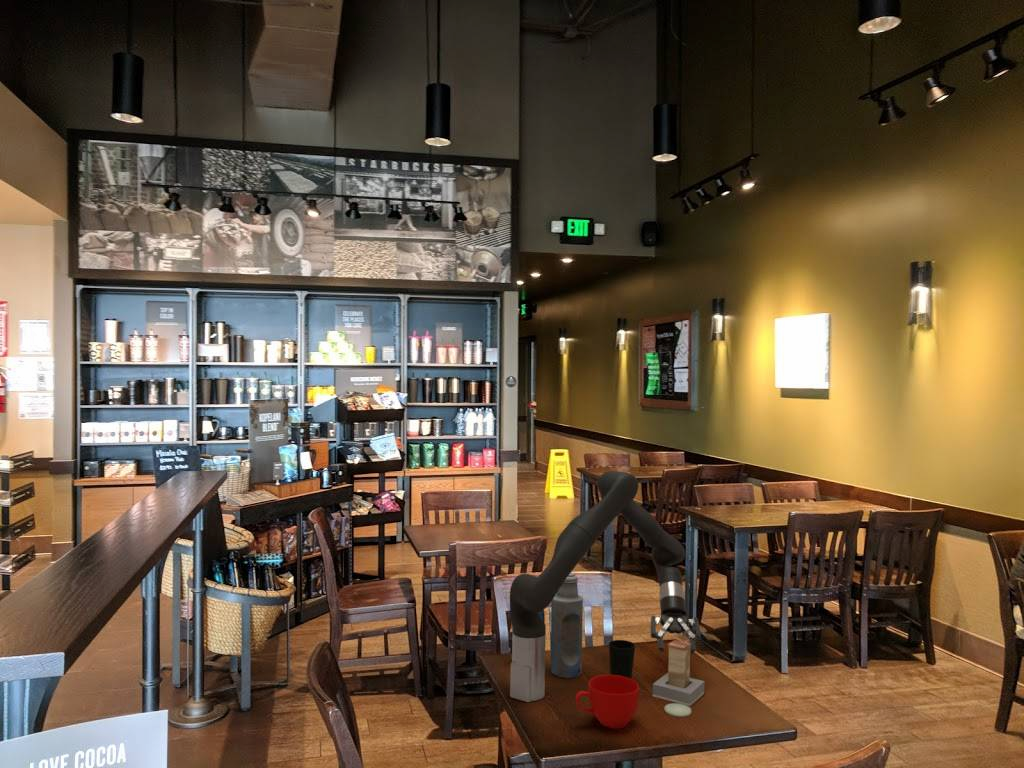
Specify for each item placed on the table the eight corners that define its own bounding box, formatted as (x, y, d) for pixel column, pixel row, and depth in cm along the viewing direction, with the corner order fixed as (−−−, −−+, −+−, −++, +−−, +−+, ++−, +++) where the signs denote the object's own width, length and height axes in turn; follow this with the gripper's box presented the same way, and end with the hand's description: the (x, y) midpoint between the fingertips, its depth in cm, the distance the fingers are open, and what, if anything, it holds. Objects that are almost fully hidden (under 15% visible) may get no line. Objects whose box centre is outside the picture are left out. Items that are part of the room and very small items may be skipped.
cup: (633, 692, 212) (634, 649, 212) (606, 689, 213) (607, 647, 213) (634, 681, 219) (635, 641, 219) (608, 679, 221) (609, 638, 221)
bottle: (555, 679, 219) (557, 578, 220) (546, 667, 229) (548, 570, 229) (586, 677, 222) (588, 576, 222) (575, 665, 231) (577, 568, 232)
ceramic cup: (566, 716, 195) (567, 678, 195) (625, 710, 199) (626, 672, 200) (584, 739, 182) (585, 698, 182) (647, 731, 187) (648, 691, 187)
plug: (683, 697, 207) (684, 647, 207) (667, 693, 210) (668, 644, 210) (689, 691, 211) (690, 643, 211) (673, 687, 214) (674, 639, 214)
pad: (685, 719, 194) (685, 716, 194) (660, 712, 198) (660, 710, 198) (695, 710, 200) (695, 707, 200) (670, 703, 204) (670, 701, 204)
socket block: (690, 706, 203) (690, 693, 203) (652, 696, 209) (652, 684, 209) (704, 693, 212) (704, 681, 212) (667, 683, 218) (668, 672, 218)
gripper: (649, 593, 223) (653, 644, 212) (697, 595, 222) (704, 646, 211) (647, 606, 229) (651, 656, 217) (694, 607, 228) (700, 658, 216)
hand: (677, 651), depth 214 cm, fingers open, 8 cm apart
